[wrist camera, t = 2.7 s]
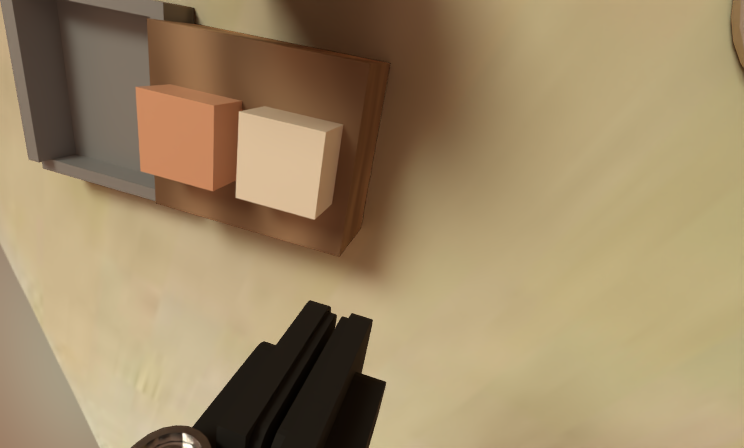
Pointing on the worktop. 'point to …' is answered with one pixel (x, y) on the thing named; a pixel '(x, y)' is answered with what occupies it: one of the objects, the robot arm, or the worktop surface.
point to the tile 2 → (287, 160)
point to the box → (85, 84)
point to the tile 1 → (188, 135)
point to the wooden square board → (284, 92)
